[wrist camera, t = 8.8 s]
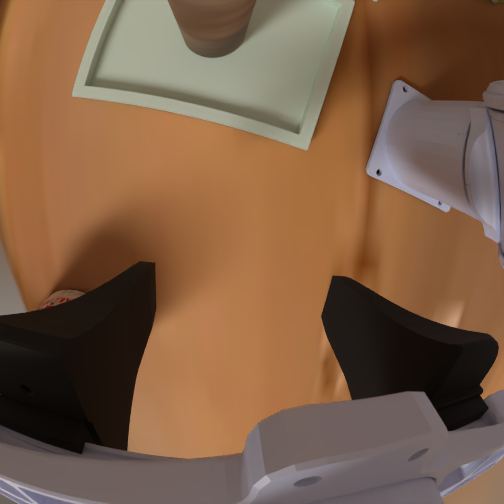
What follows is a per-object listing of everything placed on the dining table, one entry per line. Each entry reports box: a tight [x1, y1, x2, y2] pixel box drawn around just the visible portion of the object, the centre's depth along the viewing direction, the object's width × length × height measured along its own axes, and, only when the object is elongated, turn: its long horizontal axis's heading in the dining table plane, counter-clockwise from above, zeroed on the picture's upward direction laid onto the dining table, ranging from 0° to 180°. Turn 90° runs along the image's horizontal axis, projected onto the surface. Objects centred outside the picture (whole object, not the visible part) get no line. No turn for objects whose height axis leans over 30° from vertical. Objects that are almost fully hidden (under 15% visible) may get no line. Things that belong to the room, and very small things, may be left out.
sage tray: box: [72, 0, 355, 151], centre depth 15 cm, size 16×12×2 cm
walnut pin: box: [168, 0, 256, 58], centre depth 11 cm, size 4×4×9 cm
